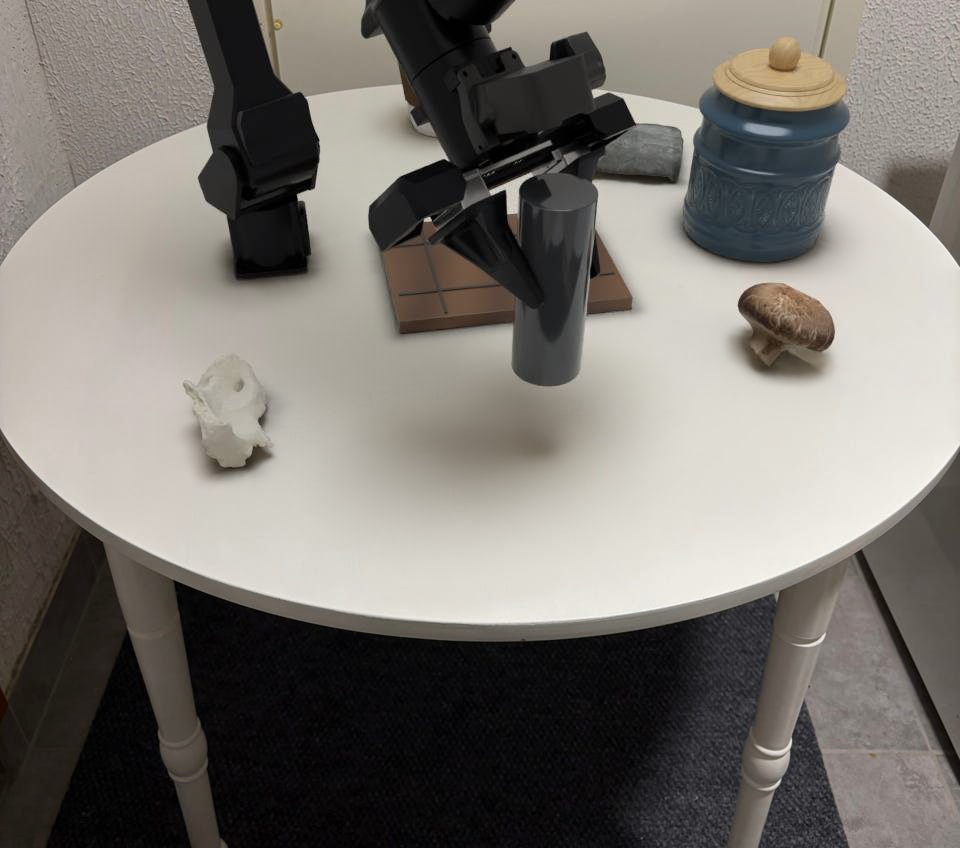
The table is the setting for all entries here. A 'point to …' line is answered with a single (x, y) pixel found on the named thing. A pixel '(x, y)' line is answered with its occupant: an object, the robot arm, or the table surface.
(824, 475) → the table surface
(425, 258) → the board
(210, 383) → the coral
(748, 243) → the canister
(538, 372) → the dark grey cylinder
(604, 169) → the stone
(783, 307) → the mushroom
